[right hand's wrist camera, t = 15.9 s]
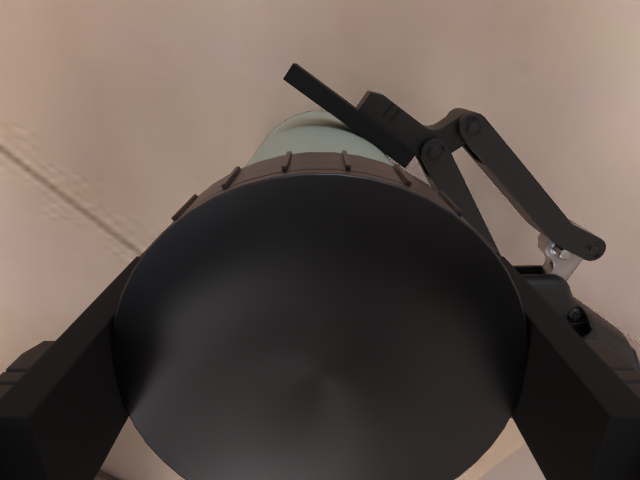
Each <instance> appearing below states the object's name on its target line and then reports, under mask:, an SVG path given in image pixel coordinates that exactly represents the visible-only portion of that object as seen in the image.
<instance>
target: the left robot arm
mask: <svg viewBox="0 0 640 480" xmlns="http://www.w3.org/2000/svg"><path fill="white" fill-rule="evenodd" d="M284 80H285V81H286V82H288V83H289V84H290V85H292V86H293V87H295V88H296V89H297V90H299V91H300V92H301V93H303V94H304V95H306V96H307V97H308V98H310V99H311V100H312V101H314V102H315V103H317V104H318V105H319V106H321V107H322V108H323V109H325V110H326V111H327V112H329V113H330V114H332V115H333V116H334V117H336V118H337V119H338V120H340V121H341V122H343V123H344V124H345V125H347V126H348V127H349V128H351V129H352V130H353V131H355V132H356V133H358V134H359V135H360V136H362V137H363V138H364V139H366V140H367V141H369V142H370V143H371V144H373V145H374V146H375V147H377V148H378V149H379V150H381V151H382V152H384V153H385V154H386V155H388V156H389V157H390V158H392V159H393V160H395V161H396V162H397V163H399V164H400V165H401V166H403V167H404V168H406V166H407V165H408V164H409V162H410V161H411V160H412V159H413V157H414V156H416V158H417V160H418V162H419V164H420V166H421V168H422V170H423V172H424V173H425V175H426V177H427V179H428V181H429V183H430V185H431V187H432V188H433V189H434V190H435V191H436V192H439V190H441V191H442V192H443V193H444V194H445V195H446V196H447V197H448V198H449V199H450V200H451V201H452V202H453V203H454V204H455V205H456V206H457V207H458V208H459V209H460V210H461V211H462V212H463V213H464V214H463V215H462V217H463V218H464V219H465V220H466V221H467V222H468V223H469V224H470V225H471V226H474V227H475V228H476V230H477V231H478V232H479V233H480V234H481V235H482V236H483V237H484V238H485V239H486V240H487V241H488V242H489V243H490V244H491V245H492V246H493V247H494V248H495V249H496V250H497V251H498V249H497V247H496V245H495V243H494V241H493V239H492V237H491V235H490V233H489V230H488V228H487V226H486V224H485V222H484V220H483V218H482V216H481V214H480V212H479V210H478V208H477V206H476V204H475V202H474V200H473V198H472V195H471V193H470V191H469V189H468V187H467V185H466V183H465V181H464V179H463V177H462V175H461V173H460V171H459V169H458V167H457V165H456V163H455V160H454V158H453V156H452V154H451V153H452V152H454V151H455V150H457V149H458V148H460V147H461V146H462V147H463V148H464V149H465V150H466V151H467V153H468V154H469V155H470V156H471V157H472V158H473V160H474V161H475V162H476V163H477V164H478V166H479V167H480V168H481V169H482V170H483V171H484V173H485V174H486V175H487V176H488V177H489V178H490V180H491V181H492V182H493V183H494V184H495V185H496V187H497V188H498V189H499V190H500V191H501V192H502V194H503V195H504V196H505V197H506V198H507V199H508V201H509V202H510V203H511V204H512V205H513V206H514V208H515V209H516V210H517V211H518V212H519V213H520V215H521V216H522V217H523V218H524V219H525V220H526V221H527V222H528V223H529V224H530V225H531V226H533V227H534V228H535V229H536V230H538V231H539V232H540V233H541V234H540V235H539V236H538V247H539V249H540V250H541V251H542V252H543V253H544V255H545V263H544V265H543V266H542V265H526V266H513V267H514V268H515V269H516V270H517V271H518V272H519V273H520V274H521V275H522V276H523V277H524V278H525V280H526V281H527V282H528V283H529V284H530V285H531V286H532V287H533V288H534V289H535V290H536V291H537V292H538V293H539V294H540V295H541V296H542V297H543V298H544V299H545V300H546V301H547V302H548V303H549V305H550V306H551V307H552V308H553V309H554V310H555V311H556V312H557V313H558V314H559V315H560V316H561V317H562V318H563V319H564V320H565V321H566V322H567V323H568V324H569V325H570V326H571V327H572V328H573V330H574V331H575V332H576V333H577V334H578V335H579V336H580V337H581V338H582V339H583V340H598V341H600V342H601V343H603V344H605V345H607V346H608V347H610V348H612V349H613V350H615V351H617V352H619V353H620V354H621V355H622V356H623V357H624V358H625V359H626V360H627V361H628V362H629V363H630V364H631V365H632V366H633V367H634V369H635V371H638V372H639V373H640V345H639V344H638V343H636V342H635V341H633V340H632V339H630V338H629V337H627V336H626V335H624V334H622V333H621V332H620V331H619V330H618V329H617V328H616V327H614V326H613V325H612V324H610V323H609V322H608V321H606V320H605V319H603V318H602V317H601V316H599V315H598V314H597V313H595V312H594V311H592V310H591V309H590V308H588V307H587V306H586V305H584V304H583V303H581V302H580V301H579V300H577V299H576V298H575V297H573V295H572V293H571V290H570V287H569V285H568V283H567V282H566V281H567V280H568V278H569V277H570V276H571V274H572V273H573V272H574V270H575V269H576V268H577V266H578V265H579V264H580V262H581V261H582V260H583V259H585V260H588V261H593V260H596V259H598V258H600V257H601V256H602V255H603V254H604V252H605V249H606V245H605V242H604V241H603V240H602V239H600V238H599V237H597V236H595V235H594V234H592V233H591V232H589V231H587V230H586V229H584V228H582V227H581V226H579V225H578V224H576V223H574V222H572V221H570V220H568V218H567V217H566V216H565V215H564V214H563V212H562V211H561V210H560V209H559V207H558V206H557V205H556V204H555V203H554V201H553V200H552V199H551V198H550V197H549V195H548V194H547V193H546V192H545V190H544V189H543V188H542V187H541V186H540V184H539V183H538V182H537V181H536V179H535V178H534V177H533V176H532V175H531V173H530V172H529V171H528V170H527V168H526V167H525V166H524V165H523V164H522V162H521V161H520V160H519V159H518V157H517V156H516V155H515V154H514V153H513V151H512V150H511V149H510V148H509V146H508V145H507V144H506V143H505V142H504V140H503V139H502V138H501V137H500V135H499V134H498V133H497V132H496V131H495V129H494V128H493V127H492V126H491V125H490V123H489V122H488V121H487V120H486V118H485V117H484V116H482V115H481V114H479V113H475V112H473V111H469V110H466V109H462V108H456V109H453V110H451V111H450V112H449V113H448V115H447V116H446V117H445V118H444V119H442V120H441V121H439V122H438V123H436V124H434V125H430V126H424V125H422V124H420V123H419V122H418V121H416V120H415V119H414V118H412V117H411V116H410V115H409V114H407V113H406V112H405V111H403V110H402V109H401V108H399V107H398V106H397V105H395V104H394V103H393V102H392V101H390V100H389V99H388V98H386V97H385V96H384V95H382V94H380V93H376V92H372V91H367V92H366V94H365V95H364V97H363V98H362V99H361V101H360V102H359V104H358V105H357V107H356V108H355V107H354V106H353V105H351V104H350V103H349V102H347V101H346V100H345V99H343V98H342V97H341V96H339V95H338V94H337V93H335V92H334V91H333V90H331V89H330V88H329V87H327V86H326V85H325V84H323V83H322V82H321V81H319V80H318V79H317V78H315V77H314V76H313V75H311V74H310V73H308V72H307V71H306V70H304V69H303V68H302V67H300V66H299V65H298V64H296V63H293V64H292V66H291V68H290V69H289V71H288V72H287V74H286V76H285V77H284ZM498 253H499V251H498ZM499 254H500V253H499ZM498 257H501V255H500V256H498ZM510 418H512V416H511V417H510ZM512 419H513V418H512ZM94 480H116V479H114V478H112V477H111V476H109V475H106V474H104V473H102V472H99V471H98V473H97V475H96V477H95V479H94Z"/></svg>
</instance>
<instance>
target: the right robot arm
mask: <svg viewBox="0 0 640 480" xmlns="http://www.w3.org/2000/svg"><path fill="white" fill-rule="evenodd" d="M138 258H139V257H136V258H135V259H134V260H133V261H132V262H131V263H130V264H129V265H128V266H127V267H126V268H125V269H124V270H123V271H122V273H121V274H120V275H119V276H118V277H117V278H116V279H115V280H114V281H113V282H112V283H111V284H110V285H109V286H108V287H107V288H106V289H105V290H104V291H103V292H102V293H101V294H100V295H99V296H98V298H97V299H96V300H95V301H94V302H93V303H92V304H91V305H90V306H89V307H88V308H87V309H86V310H85V311H84V312H83V313H82V314H81V315H80V316H79V317H78V318H77V319H76V320H75V321H74V323H73V324H72V325H71V326H70V327H69V328H68V329H67V330H66V331H65V332H64V333H63V334H62V335H61V336H60V337H59V338H58V339H57V340H56V341H43V342H42V343H40V344H38V345H37V346H35V347H33V348H31V349H30V350H28V351H26V352H25V353H23V354H22V355H21V356H19V357H18V358H17V359H16V360H15V361H14V362H13V363H12V364H11V365H10V366H9V367H8V368H7V369H6V372H3V373H2V374H1V375H0V480H94V479H95V477H96V475H97V473H98V471H99V470H100V468H101V466H102V464H103V462H104V460H105V459H106V457H107V455H108V453H109V451H110V449H111V448H112V446H113V444H114V442H115V440H116V438H117V437H118V435H119V433H120V431H121V429H122V427H123V426H124V424H125V422H126V420H127V418H128V416H129V415H128V413H127V411H126V409H125V407H124V404H123V401H122V398H121V396H120V393H119V390H118V385H117V380H116V375H115V370H114V365H113V355H112V336H113V328H114V320H115V315H116V311H117V308H118V304H119V301H120V298H121V294H122V292H123V290H124V288H125V286H126V283H127V281H128V279H129V277H130V275H131V273H132V271H133V269H134V268H135V267H136V265H137V264H138V261H137V260H138ZM499 259H500V260H501V262H502V263H503V265H504V266H505V268H506V269H507V271H508V272H509V274H510V276H511V279H512V281H513V283H514V285H515V287H516V289H517V291H518V294H519V296H520V300H521V303H522V307H523V311H524V314H525V318H526V326H527V335H528V360H527V366H526V371H525V376H524V381H523V386H522V391H521V393H520V396H519V399H518V402H517V404H516V407H515V409H514V411H513V413H512V415H511V416H512V418H513V420H514V421H515V423H516V425H517V427H518V429H519V431H520V432H521V434H522V436H523V438H524V440H525V442H526V443H527V445H528V447H529V449H530V451H531V453H532V454H533V456H534V458H535V460H536V462H537V464H538V465H539V467H540V469H541V471H542V473H543V474H544V476H545V478H546V480H640V373H639V372H638V371H635V369H634V367H633V366H632V365H631V364H630V363H629V362H628V361H627V360H626V359H625V358H624V357H623V356H622V355H621V354H620V353H619V352H617V351H615V350H613V349H612V348H610V347H608V346H607V345H605V344H603V343H601V342H600V341H598V340H583V339H582V338H581V337H580V336H579V335H578V334H577V333H576V332H575V331H574V330H573V328H572V327H571V326H570V325H569V324H568V323H567V322H566V321H565V320H564V319H563V318H562V317H561V316H560V315H559V314H558V313H557V312H556V311H555V310H554V309H553V308H552V307H551V306H550V305H549V303H548V302H547V301H546V300H545V299H544V298H543V297H542V296H541V295H540V294H539V293H538V292H537V291H536V290H535V289H534V288H533V287H532V286H531V285H530V284H529V283H528V282H527V281H526V280H525V278H524V277H523V276H522V275H521V274H520V273H519V272H518V271H517V270H516V269H515V268H514V267H513V266H512V265H511V264H510V263H509V262H508V261H507V260H506V259H505V258H504V257H499Z"/></svg>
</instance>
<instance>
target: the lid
mask: <svg viewBox="0 0 640 480" xmlns="http://www.w3.org/2000/svg"><path fill="white" fill-rule="evenodd" d="M463 214H464V213H463V212H462V211H461V210H460V209H459V208H458V207H457V206H456V205H455V204H454V203H453V202H452V201H451V200H450V199H449V198H448V197H447V196H446V195H445V194H444V193H443V192H442V191H441V190H439V192H436V191H435V190H434V189H433V188H431V187H430V186H429V185H428V184H426V183H424V182H423V181H421V180H419V179H418V178H416V177H414V176H413V175H411V174H409V173H408V172H406V171H403V170H402V168H401V167H400V166H399V165H398V164H395V165H394V166H391V165H389V164H387V163H384V162H381V161H377V160H374V159H370V158H366V157H363V156H359V155H351V154H347V151H346V150H342V153H337V152H304V153H296V154H292V152H291V151H287V153H286V155H282V156H278V157H274V158H270V159H267V160H263V161H259V162H256V163H254V164H251V165H249V166H247V167H244V168H242V169H240V167H239V166H238V167H236V168H235V169H234V170H233V171H232V173H231V174H229V175H228V176H226V177H224V178H223V179H221V180H219V181H218V182H216V183H214V184H213V185H211V186H210V187H209V188H208V189H206V190H205V191H204V192H203V193H201V194H200V195H199V196H197V195H196V194H195V195H193V196H192V197H191V198H190V199H189V200H188V202H187V203H186V204H185V205H184V206H183V207H182V208H181V209H180V210H179V211H178V212H177V213H176V214H175V215H174V216H173V217H172V218H171V219H172V220H173V222H172V224H171V225H170V226H169V227H168V228H167V229H166V230H165V231H163V232H162V234H161V235H160V236H159V237H158V238H157V239H156V240H155V241H154V242H153V243H152V244H151V245H150V246H149V247H148V248H147V249H146V250H145V252H144V253H143V254H142V255H141V256H140V257H139V258H138V260H137V261H138V264H137V265H136V267H135V268H134V269H133V271H132V273H131V275H130V277H129V279H128V281H127V283H126V286H125V288H124V290H123V292H122V294H121V298H120V301H119V304H118V308H117V311H116V315H115V320H114V328H113V336H112V355H113V365H114V370H115V375H116V380H117V385H118V390H119V393H120V396H121V398H122V401H123V404H124V407H125V409H126V411H127V413H128V415H129V416H130V418H131V420H132V422H133V424H134V426H135V428H136V429H137V430H138V432H139V433H140V435H141V436H142V437H143V439H144V440H145V442H146V443H147V444H148V446H149V447H150V448H151V449H152V450H153V451H154V452H155V453H156V454H157V455H158V456H159V457H160V459H161V460H162V461H163V462H164V463H166V464H167V465H168V466H169V467H170V468H171V469H173V470H174V471H175V472H176V473H177V474H179V475H180V476H181V477H183V478H184V479H186V480H455V479H456V478H458V477H459V476H460V475H462V474H463V473H464V472H465V471H466V470H467V469H469V468H470V467H471V466H472V465H473V464H475V463H476V462H477V461H478V460H479V459H480V458H481V457H482V455H483V454H484V453H485V452H486V451H487V450H488V449H489V448H490V447H491V446H492V444H493V443H494V442H495V440H496V439H497V438H498V436H499V435H500V433H501V432H502V431H503V429H504V428H505V426H506V424H507V422H508V420H509V419H510V417H511V415H512V413H513V411H514V409H515V407H516V404H517V402H518V399H519V396H520V393H521V391H522V386H523V381H524V376H525V371H526V366H527V360H528V335H527V326H526V318H525V314H524V311H523V307H522V303H521V300H520V296H519V294H518V291H517V289H516V287H515V285H514V283H513V281H512V279H511V276H510V274H509V272H508V271H507V269H506V268H505V266H504V265H503V263H502V262H501V260H500V259H499V257H498V256H500V254H499V253H498V251H497V250H496V249H495V248H494V247H493V246H492V245H491V244H490V243H489V242H488V241H487V240H486V239H485V238H484V237H483V236H482V235H481V234H480V233H479V232H478V231H477V230H476V228H475V227H474V226H471V225H470V224H469V223H468V222H467V221H466V220H465V219H464V218H463V217H462V215H463Z"/></svg>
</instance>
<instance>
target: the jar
mask: <svg viewBox="0 0 640 480" xmlns="http://www.w3.org/2000/svg"><path fill="white" fill-rule="evenodd" d="M342 150H346V151H347V154H351V155H359V156H363V157H366V158H370V159H374V160H377V161H381V162H384V163H387V164H389V165H391V166H394V165H393V164H392V163H391V161H390V160H389V159H388V157H387V156H386V154H385V153H384V152H382V151H381V150H379V149H378V148H377V147H375V146H374V145H373V144H371V143H370V142H369V141H367V140H366V139H364V138H363V137H362V136H360V135H359V134H358V133H356V132H355V131H353V130H352V129H351V128H349V127H348V126H347V125H345V124H344V123H343V122H341V121H340V120H338V119H337V118H336V117H334V116H333V115H332V114H330V113H329V112H327V111H312V112H306V113H302V114H298V115H296V116H293V117H291V118H289V119H287V120H286V121H284V122H282V123H281V124H280V125H279V126H277V127H276V128H275V129H274V130H273V131H272V132H271V133H270V134H269V136H268V137H267V138H266V140H265V141H264V142H263V144H262V145H261V146H260V148H259V149H258V151H257V152H256V153H255V155H254V156H253V157H252V159H251V160H250V162H249V163H248V164H247V166H249V165H251V164H254V163H256V162H259V161H263V160H267V159H270V158H274V157H278V156H282V155H286V153H287V151H291V152H292V154H296V153H304V152H337V153H342ZM247 166H246V167H247Z"/></svg>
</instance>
